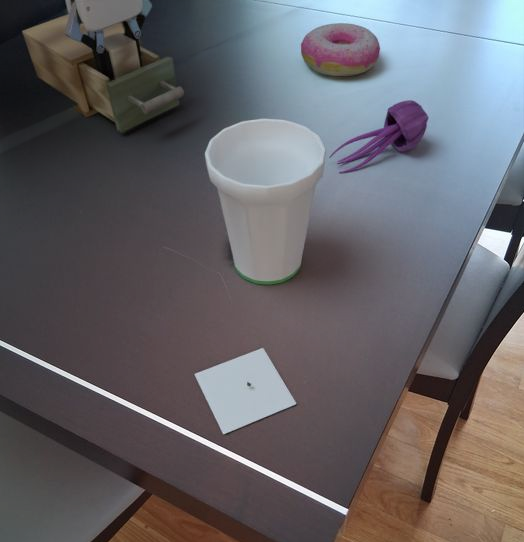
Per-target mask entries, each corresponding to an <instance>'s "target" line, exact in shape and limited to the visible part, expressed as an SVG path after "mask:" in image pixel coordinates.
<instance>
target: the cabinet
mask: <svg viewBox="0 0 524 542" xmlns="http://www.w3.org/2000/svg"><path fill="white" fill-rule="evenodd" d="M68 18H69V14H66V15H62V16H59V17H57V18H53V19H51V20H49V21H48V20H47V21H45V22H43V23H40V24H37V25H35V26H32V27H29V28H26V29H24V30H21V32H22V36H23V38H24V41H25V44H26V47H27V50H28V54H29V56H30V58H31V62H32V64H33V65H32V66H33V67H34V71H35V74H36V76H37V78H38V79H40V80H42V81H44V82H45V83H46V84H48V85H49V86H51V87H52V88H54V89H55V90H57V91H58V92H60V93H62V94H63V95H64V96H66V97H68V99H70V100H72V101H74V102H75V103H76V104H75V105H73V106H71V108H72V109H73V110H75V111H76V112H78V113H80V114H81V115H83V116H84V117H85V118H89V117H92V116H93V115H96V114H97V113H99V112H98V111H97V110H95V109H94V108H92V107H91V106H89V105H88V103H87V100H86V96H85V93H84V89H83V86H82V82H81V78H80V75H79V71H78V68H77V63H80V62H82V61H85V60H87V59H90V58H92V57H94V56H93V52H92V49H91V48H90V47H88V46H86V45H85V44H83V43H81V42H78V41H76V40H73V39H71V38H69V37H67V36H66V35H65V29H66V26H67V22H68ZM79 31H80V32H82V33H84V34H86V28H85V26H84V23H83V24H80V28H79ZM118 32H119V33H121V34H124V29H123V27H122V25H121V22H120V23H118V24H115V25H113V26H110V27H107V28H105V29H104V38H105V37H108V36H110V35H113V34H115V33H118ZM138 40H139V45H140V46H141V47H142V48H143V46H142V41H141V37H140V38H138Z"/></svg>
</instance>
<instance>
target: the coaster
mask: <svg viewBox="0 0 524 542" xmlns="http://www.w3.org/2000/svg"><path fill="white" fill-rule="evenodd" d="M194 377H195V379H196V381H197V383H198V385H199V387H200V390H201V391H202V394H203V396H204V398H205V401H206V402H207V404H208V406H209V408H210V410H211V412H212V414H213V416H214V418H215V421H216V422H217V424H218V427H219V428H220V431H221V433H222V435H226V434H227V433H231V432H232V431H235V430H237V429H240V428H243V427H245V426H247V425H250V424H252V423H254V422H257V421H259V420H262V419H265V418H266V417H269V416H272V415H273V414H276V413H278V412H281V411H283V410H285V409H288V408H291V407H293V406H295V405H297V402H296V400H295V398H294V397H293V395H292V393H291V392H290V390H289V389H288V387H287V385H286V383H285V382H284V380H283V379H282V377H281V375H280V374H279V372H278V370H277V368H276V367H275V365H274V364H273V362H272V360H271V358H270V357H269V354H268V353H267V352H266V350H265V348H264V347H261V348H259V349H256V350H253V351H251V352H248V353H245V354H243V355H240V356H238V357H235V358H233V359H229V360H227V361H224V362H222V363H220V364H217V365H214V366H212V367H208V368H207V369H204V370H201V371H199V372H196V373H194Z"/></svg>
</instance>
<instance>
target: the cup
mask: <svg viewBox="0 0 524 542" xmlns="http://www.w3.org/2000/svg"><path fill="white" fill-rule="evenodd" d="M326 155H327V149H326V147H325V144H324V143H323V140H322V139H321V137H320V135H318V134H317V133H315V131H312V130H311V129H309V128H308V127H307V126H306V125H303V124H300V123H296V122H293V121H290V120H287V119H278V118H277V119H275V118H258V119H257V118H256V119H251V120H241V121H240V122H238V123H235V124H232V125H230V126H227V127H225V128H223V129H222V130H221V131H219V132H218V133H217V134H216V135H214V136H213V137H212V138H211V139H210V140H209V142H208V144H207V146H206V149H205V151H204V158H205V164H206V165H205V166H206V169H207V174H208V177H209V181H210V182H211V184H213V186H215V188H216V190H217V193H218V199H219V202H220V207H221V212H222V216H223V220H224V223H225V228H226V232H227V237H228V241H229V245H230V249H231V254H232V259H233V266H234V269H235V272H237V273H238V274H239V276H241V277H242V278H243V279H244V280H246V281H248V282H250V283H253V284H256V285H267V286H268V285H276V284H281V283H284V282H286V281H289V280H290V279H291V278H293V277H294V276H295V275H296V274H297V273H298V272H299V270H300V269H301V266H302V259H303V254H304V250H305V245H306V244H305V243H306V240H307V239H306V238H307V233H308V229H309V223H310V217H311V211H312V206H313V202H314V197H315V191H316V186H317V184H318V182H319V181H320V180H321V179H322V178H323V175H324V169H325V164H326Z"/></svg>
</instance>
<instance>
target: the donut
mask: <svg viewBox="0 0 524 542" xmlns="http://www.w3.org/2000/svg"><path fill="white" fill-rule="evenodd" d="M380 53H381V45H380V42H379V39H378V37H377V36H376V35H375V33H373V32H372V31H371V30H369V29H368V28H367V27H365V26H362V25H359V24H355V23H348V22H346V23H344V22H338V23H329V24H324V25H321V26H318V27H316V28H313V29H312V30H311V31H309V32H307V33H306V34H305V35H304V37H303V39H302V41H301V43H300V54H301V57H302V59H303V61H304V63H305V64H306V65H307V66H308V67H309V68H311V69H312V70H313V71H315V72H317V73H320V74H322V75H325V76H332V77H349V76H356V75H361V74H362V73H365V72H367V71H368V70H371V69H372V68H373V67H374V66H375V64H376V63H377V61H378V60H379V57H380Z"/></svg>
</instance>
